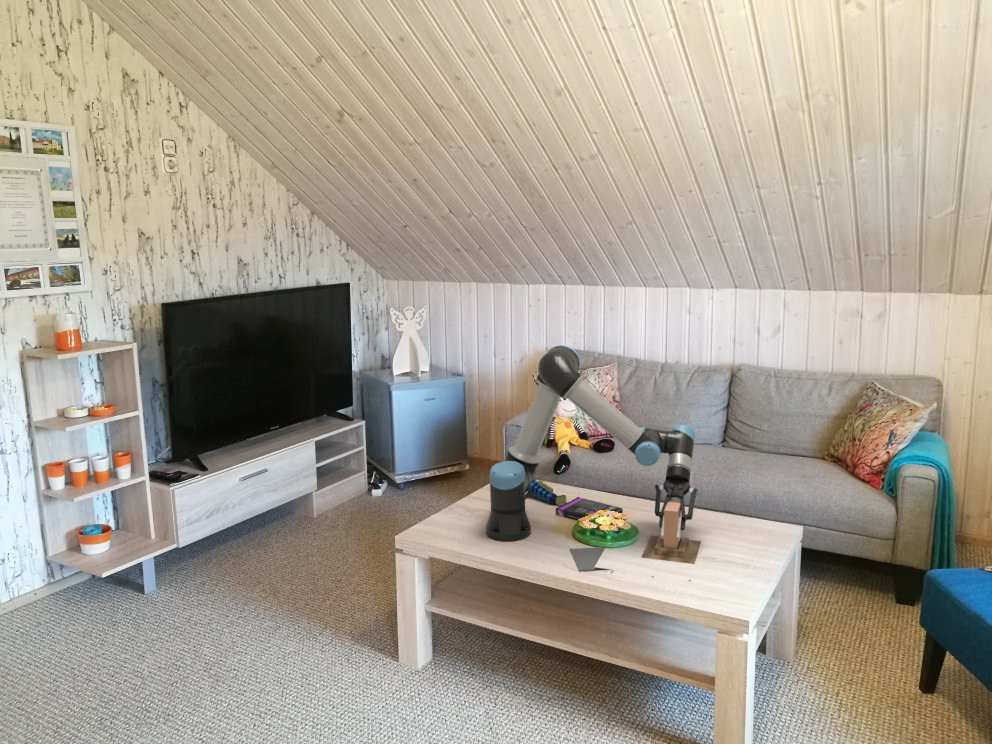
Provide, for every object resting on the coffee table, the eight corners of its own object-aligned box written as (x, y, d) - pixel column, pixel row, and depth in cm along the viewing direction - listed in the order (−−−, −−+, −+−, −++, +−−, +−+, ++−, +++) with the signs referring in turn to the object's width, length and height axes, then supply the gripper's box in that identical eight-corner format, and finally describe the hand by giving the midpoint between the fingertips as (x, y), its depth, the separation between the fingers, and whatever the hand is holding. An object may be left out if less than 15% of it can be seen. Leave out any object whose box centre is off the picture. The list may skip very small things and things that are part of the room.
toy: (534, 487, 315) (535, 463, 313) (579, 508, 296) (580, 483, 294) (507, 495, 307) (508, 470, 304) (552, 517, 288) (553, 492, 286)
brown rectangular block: (663, 553, 248) (664, 510, 245) (667, 543, 255) (668, 501, 252) (676, 554, 246) (677, 511, 244) (680, 544, 254) (680, 502, 251)
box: (555, 517, 286) (601, 529, 273) (555, 508, 285) (601, 519, 273) (578, 505, 296) (623, 516, 284) (577, 496, 296) (623, 507, 283)
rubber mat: (579, 571, 240) (579, 570, 240) (570, 550, 255) (570, 548, 255) (631, 568, 241) (631, 567, 241) (619, 547, 257) (619, 546, 257)
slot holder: (641, 561, 245) (641, 551, 245) (650, 539, 262) (651, 529, 261) (694, 568, 240) (694, 557, 239) (701, 545, 257) (701, 535, 256)
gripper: (706, 478, 258) (699, 546, 246) (653, 473, 264) (643, 539, 252) (705, 467, 252) (698, 536, 240) (650, 462, 258) (641, 529, 246)
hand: (670, 537), depth 246 cm, fingers closed on brown rectangular block, 4 cm apart
